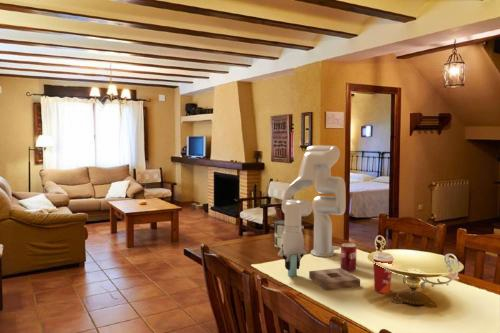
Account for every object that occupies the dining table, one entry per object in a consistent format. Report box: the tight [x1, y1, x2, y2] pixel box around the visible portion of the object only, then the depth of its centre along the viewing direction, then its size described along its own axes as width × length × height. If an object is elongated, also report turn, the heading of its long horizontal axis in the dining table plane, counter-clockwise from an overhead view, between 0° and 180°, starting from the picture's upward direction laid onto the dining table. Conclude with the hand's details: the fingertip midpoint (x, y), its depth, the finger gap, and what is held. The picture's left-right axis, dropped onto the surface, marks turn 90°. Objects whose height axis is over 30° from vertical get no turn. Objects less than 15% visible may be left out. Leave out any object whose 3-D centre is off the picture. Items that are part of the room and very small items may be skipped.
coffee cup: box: [372, 252, 395, 294], centre depth 168 cm, size 8×8×15 cm
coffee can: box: [274, 219, 285, 249], centre depth 238 cm, size 10×10×14 cm
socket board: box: [308, 267, 361, 291], centre depth 178 cm, size 16×16×3 cm
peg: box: [287, 254, 298, 278], centre depth 186 cm, size 4×4×10 cm
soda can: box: [340, 242, 358, 273], centre depth 195 cm, size 7×7×12 cm
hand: (292, 268), depth 186 cm, fingers closed on peg, 4 cm apart
